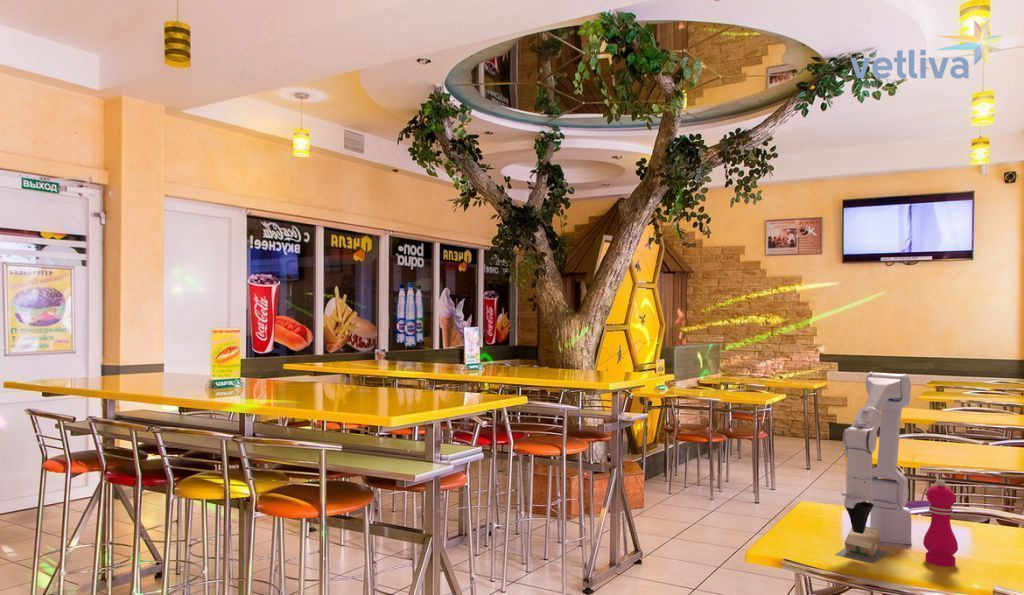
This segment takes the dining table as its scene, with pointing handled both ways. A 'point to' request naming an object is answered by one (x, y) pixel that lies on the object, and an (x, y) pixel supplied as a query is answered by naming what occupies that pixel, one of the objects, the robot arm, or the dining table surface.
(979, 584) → the dining table surface
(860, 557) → the grey panel
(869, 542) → the birch block
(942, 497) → the pepper mill
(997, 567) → the dining table surface
